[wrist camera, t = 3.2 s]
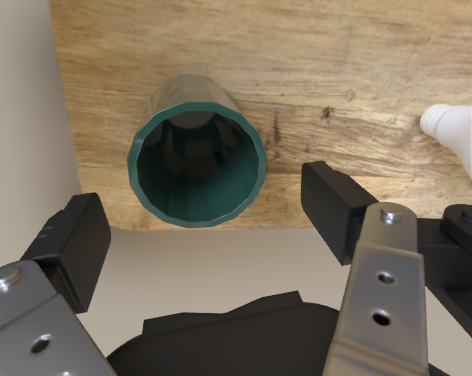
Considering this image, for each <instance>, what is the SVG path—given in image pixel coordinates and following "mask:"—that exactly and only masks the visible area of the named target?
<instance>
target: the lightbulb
mask: <svg viewBox="0 0 472 376" xmlns="http://www.w3.org/2000/svg"><path fill="white" fill-rule="evenodd" d="M420 128H421V130H422V131H423V132H424V133H426V134H427V135H430V136H431V137H434V138H435V139H437V141H438V142H439V143H440V144H442V145H444V146H446V147H447V148H449V149H450V150H452V151H453V152H454V153H455V154H456V155H457V156H458V158H459V160H460V162H461V164H462V166H463V168H464V169H465V171H466V173H467V174H468V176H469V177H470V178H471V179H472V106H466V105H461V106H456V107H455V106H452V105H447V104H435V105H433V106H431V107H429V108H428V109H427V110H426V111H425V112H424V113H423V115H422V117H421V119H420Z"/></svg>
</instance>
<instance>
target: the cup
mask: <svg viewBox="0 0 472 376" xmlns="http://www.w3.org/2000/svg"><path fill="white" fill-rule="evenodd" d="M266 165H267V155H266V152H265V149H264V146H263V143H262V140H261V136H260V134H259V132H258V131H257V130H256V129H255V127H254V126H253V125H252V124H251V122H250V121H249V120H248V119H247V118H246V116H245V115H244V114H243V113H242V111H241V110H240V109H239V108H238V106H237V105H236V104H235V103H234V101H233V100H232V99H231V98H230V97H229V96H228V94H227V93H226V92H225V91H224V90H223V89H222V88H221V87H220V86H219V85H218V84H217V83H215V82H213V81H212V80H210V79H207V78H205V77H202V76H198V75H183V76H178V77H175V78H172V79H170V80H168V81H166V82H165V83H163V84H162V85H161V86H160V87H159V88H158V89H157V90H156V91H155V93H154V94H153V95H152V96H151V98H150V100H149V103H148V105H147V108H146V110H145V112H144V115H143V117H142V120H141V122H140V124H139V127H138V129H137V132H136V134H135V137H134V140H133V143H132V146H131V149H130V152H129V155H128V158H127V166H128V173H129V181H130V185H131V188H132V189H133V191H134V193H135V194H136V196H137V197H138V199H139V201H140V202H141V204H142V205H143V207H144V208H145V209H147V210H148V211H150V212H151V213H152V214H154V215H155V216H157V217H158V218H159V219H161V220H162V221H164V222H167V223H170V224H174V225H177V226H181V227H185V228H204V227H212V226H213V227H214V226H216V225H219V224H221V223H224V222H226V221H229V220H231V219H234V218H236V217H237V216H238V215H239V214H240V213H242V212H243V211H244V210H245V209H246V208H247V207H248V206H250V205H251V204H252V203H253V202H254V200H255V198H256V196H257V195H258V193H259V191H260V189H261V187H262V185H263V184H264V181H265V174H266Z"/></svg>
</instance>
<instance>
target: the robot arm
mask: <svg viewBox="0 0 472 376" xmlns="http://www.w3.org/2000/svg"><path fill="white" fill-rule="evenodd" d="M301 204H302V208H303V210H304V212H305V213H306V215H307V216H308V218H309V219H310V221H311V222H312V224H313V225H314V226H315V228H316V229H317V231H318V232H319V234H320V235H321V237H322V238H323V239H324V241H325V242H326V244H327V245H328V247H329V248H330V249H331V251H332V252H333V254H334V255H335V256H336V258H337V259H338V261H339V262H340V264H341V265H342V266H344V265H349V264H351V268H350V272H349V276H348V280H347V284H346V288H345V292H344V296H343V300H342V304H341V308H340V311H338V310H336V309H334V308H331V307H328V306H324V305H320V304H316V303H308V302H303V301H302V299H301V297H300V294H299V292H298V291H293V292H288V293H282V294H277V295H272V296H266V297H262V298H259V299H257V300H254V301H252V302H250V303H248V304H245V305H243V306H241V307H238V308H236V309H234V310H232V311H229V312H227V313H221V314H219V313H186V312H184V313H178V314H172V315H167V316H162V317H157V318H153V319H146V320H144V323H143V331H142V334H141V335H139V336H137V337H135V338H133V339H131V340H129V341H127V342H126V343H125V344H123V345H121V346H120V347H119V348H117V349H116V350H114V351H113V352H112V353H111V354H110V355H108V356H107V357H106V358H105V357H104V355H103V354H102V352H101V351H100V349H99V348H98V347H97V345H96V344H95V342H94V341H93V339H92V338H91V336H90V335H89V334H88V332H87V331H86V329H85V328H84V326H83V325H82V324H81V322H80V321H79V319H78V318H77V316H76V315H75V314H79V313H84V312H87V311H88V308H89V305H90V302H91V299H92V296H93V293H94V290H95V287H96V284H97V281H98V278H99V275H100V272H101V269H102V266H103V263H104V260H105V257H106V254H107V251H108V248H109V245H110V242H111V231H110V226H109V223H108V220H107V218H106V215H105V212H104V209H103V206H102V203H101V200H100V198H99V196H98V194H97V193H95V192H94V193H87V194H80V195H74V196H73V197H72V198H71V200H70V201H69V203H68V204H67V206H66V207H65V209H64V210H60V211H59V212H57V213H56V214H55V215H54V216H52V217H51V218H49V219H48V221H47V222H46V224H45V225H44V227H43V228H42V230H41V231H40V232H39V233H38V235H37V238H35V239H34V241H33V242H32V243H31V245H30V246H29V248H28V249H27V251H26V252H25V253H24V255H23V256H22V257H21V259H20V260H19V261H16V262H12V263H10V264H7V265H5V266H2V267H0V376H450V375H448V374H446V373H445V372H443V371H442V370H440V369H438V368H436V367H435V366H433V365H431V364H430V363H428V348H427V323H426V299H425V286H426V287H427V288H428V289H429V290H430V291H431V292H432V293H433V295H434V296H435V297H436V298H437V299H438V300H439V301H440V303H441V304H442V305H443V306H444V307H445V308H446V309H447V310H448V312H449V313H450V314H451V315H452V316H453V317H454V318H455V319H456V321H457V322H458V323H459V324H460V325H461V326H462V327H463V329H464V330H465V331H466V332H467V333H468V334H469V335H470V336H471V338H472V205H466V204H454V205H450V206H448V207H446V208H445V210H444V214H443V217H442V219H430V218H417V216H416V214H415V213H414V212H413V211H412V210H410V209H409V208H407V207H405V206H402V205H400V204H396V203H390V202H379V201H378V200H377V199H376V198H375V197H373V196H372V195H371V194H370V193H369V192H367V191H366V190H365V189H364V188H362V187H361V186H360V185H359V184H358V183H355V181H354V180H353V179H352V178H351V177H350V176H348V175H347V174H344V173H342V172H340V171H337V170H335V171H334V170H333V169H332V168H331V167H329V166H328V165H327V164H326V163H325V162H324V161H315V162H308V163H304V164H303V165H302V175H301Z"/></svg>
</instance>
